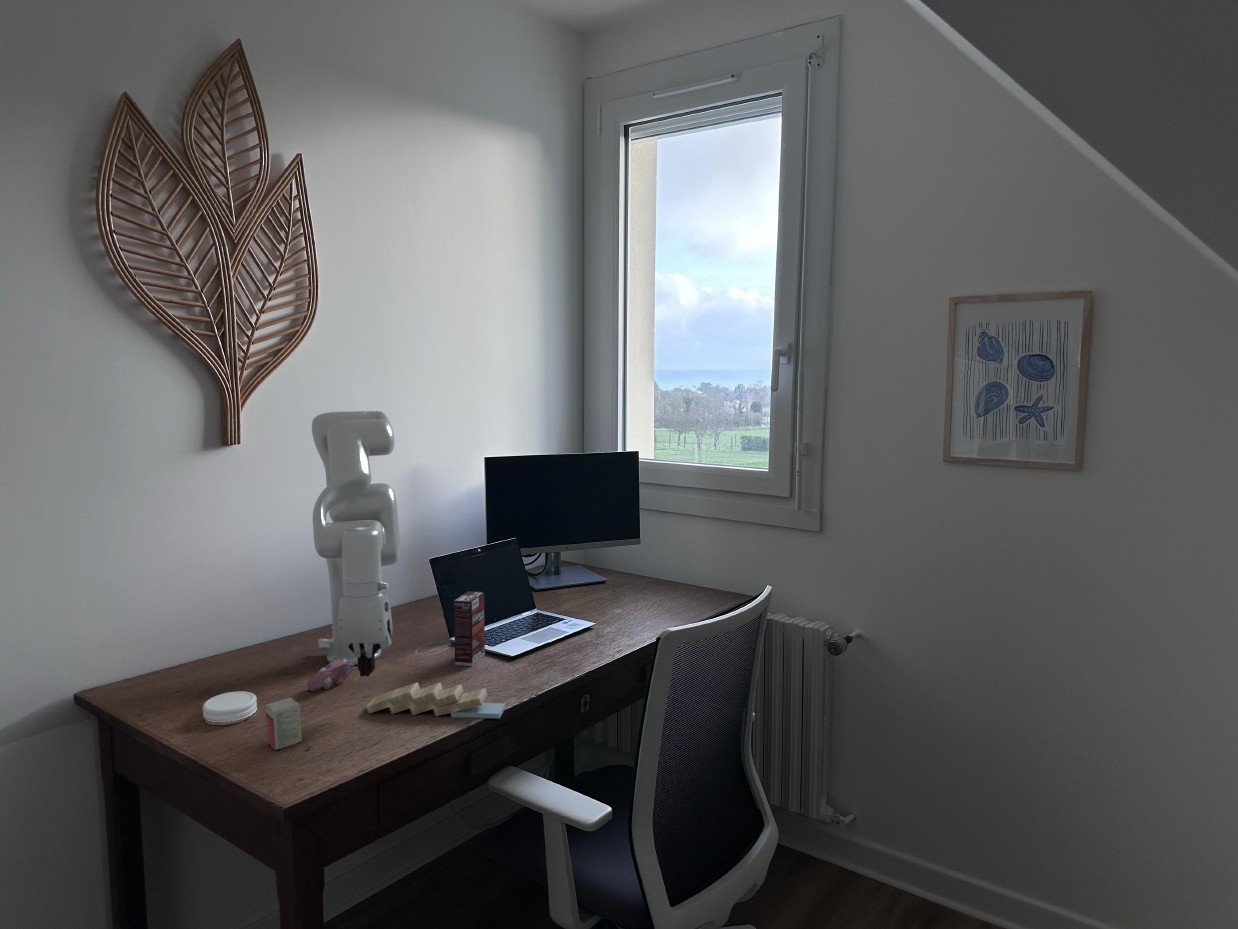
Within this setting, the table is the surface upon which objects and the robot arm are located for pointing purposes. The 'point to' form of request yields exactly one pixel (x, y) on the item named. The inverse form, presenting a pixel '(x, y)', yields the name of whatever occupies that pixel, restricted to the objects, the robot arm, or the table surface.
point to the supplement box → (469, 628)
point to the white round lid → (230, 706)
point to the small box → (283, 723)
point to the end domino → (482, 711)
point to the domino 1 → (393, 698)
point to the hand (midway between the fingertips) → (366, 673)
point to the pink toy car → (330, 675)
